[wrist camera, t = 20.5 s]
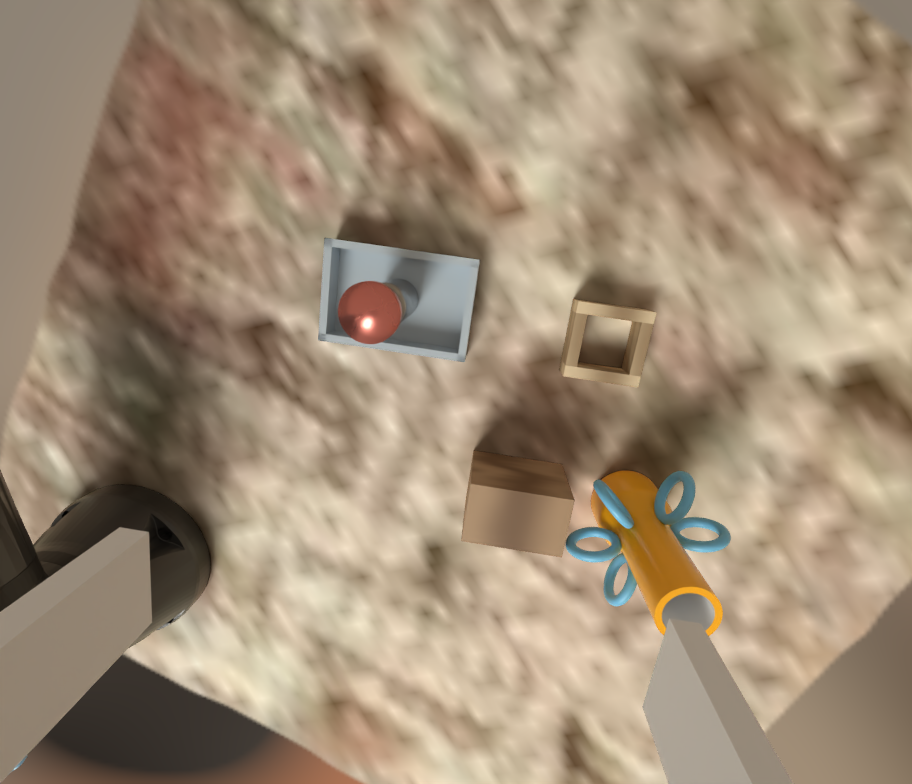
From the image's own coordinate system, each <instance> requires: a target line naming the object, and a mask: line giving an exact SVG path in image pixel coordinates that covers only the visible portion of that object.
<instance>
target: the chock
mask: <svg viewBox="0 0 912 784" xmlns="http://www.w3.org/2000/svg"><path fill="white" fill-rule="evenodd" d="M574 501H575V500H574V497H573V495H572V492H571V489H570V486H569V483H568V480H567V477H566V475H565V472H564V469H563V466H562V464H558V463H551V462H545V461H539V460H532V459H526V458H520V457H513V456H507V455H500V454H494V453H488V452H481V451H475V450H474V452H473V458H472V464H471V471H470V477H469V483H468V489H467V496H466V503H465V512H464V521H463V530H462V539H461V541H465V542H471V543H477V544H483V545H489V546H495V547H502V548H508V549H514V550H520V551H526V552H532V553H538V554H544V555H550V556H556V557H562V554H563V549H564V545H565V541H566V536H567V532H568V527H569V523H570V518H571V514H572V510H573V505H574Z"/></svg>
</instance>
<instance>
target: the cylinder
mask: <svg viewBox="0 0 912 784" xmlns="http://www.w3.org/2000/svg"><path fill="white" fill-rule="evenodd" d="M680 481H682V482H683V485H684V491H683V496H682V499H681V501H680V503H679V505H678V506H677V508H676V509H675V510H674V511H673V512H672V510H671V508H670V506H669V504H668V502H667V501H666V498H667V496H668V494H669V492H670V490H671V489H672V487H673V486H674V485H675V484H676V483H678V482H680ZM593 486H594V490H593V493H592V496H591V508H592V512H593V514H594V517H595V519H596V522H597V524H598V527H587V528H582V529H578V530H576V531H574V532H572V533H571V534H570V535H569V536H568V538H567V540H566V548H567V550H568V552H569V553H570V554H571V555H572V556H574V557H575V558H577V559H579V560H582V561H586V562H603V561H607V560H610V559H612V558H614V557H615V558H614V559H613V561H612V562H611V564H610V565H609V567H608V569H607V572H606V575H605V579H604V595H605V598H606V600H607V601H608V603H609V604H611V605H613V606H621V605H623V604H625V603H626V602H627V601H628V600H629V599H630V597H631V596H632V594H633V592H634V590H635V588H636V585H637V584H638V587H639V589H640V591H641V593H642V595H643V598H644V600H645V602H646V604H647V606H648V608H649V611H650V613H651V615H652V617H653V619H654V622H655V624H656V626H657V628H658V630H659V631H660V632H661V633H662V634H663V635H664V634H665V631H666V628H667V624H668V621H669V618H671V619H677V620H683V621H689V622H695V623H701V624H702V626H703V628H704V630H705V631H706V633H707V635H708V636H710V635H711V634H712V633H713V632H714V631H715V630H716V629H717V628H718V626H719V625H720V623H721V620H722V615H723V611H722V606H721V604H720V602H719V600H718V599H717V597H716V596H715V594H714V593H713V591H712V590H711V588H710V587H709V585H708V584H707V582H706V581H705V579H704V578H703V576H702V575H701V573H700V572H699V570H698V569H697V567H696V566H695V564H694V563H693V561H692V560H691V558H690V557H689V556H688V554H687V553H686V551H685V550H684V548H685V549H687V550H691V551H696V552H715V551H719V550H721V549H723V548H725V547H726V546H727V545H728V544H729V543H730V540H731V536H730V533H729V531H728V530H727V528H726V527H724V526H723V525H722V524H720V523H718V522H716V521H713V520H710V519H706V518H699V517H689V518H684V517H685V515H686V514H687V513H688V511H689V510H690V508H691V506H692V503H693V501H694V497H695V482H694V480H693V478H692V476H691V475H690V474H689V473H687V472H684V471H677V472H674V473H672V474H671V475H669V476H668V477H667V478H666V479H665V480H664V481H663V483H662V484H661V486H660V488H659V490H658V489H657V487H656V486H655V485H654V484H653V482H652V481H651V480H650V479H649V478H648V477H646V476H645V475H643V474H641V473H638V472H635V471H629V470H626V471H617V472H614V473H611V474H609V475H607V476H606V477H604V478H603V479H602V480H596V481H595V482H594V484H593ZM690 527H700V528H706V529H709V530H712V531H714V532H716V533H717V534H718V535H719V537H718V538H717V539H715V540H712V541H694V540H690V539H687V538H685V537H683V536H682V535H681V534H680V531H681V530H683V529H685V528H690ZM586 537H600V538H604V539H605V540H606V542H607V543H608V544H609V545H610V547H609V548H607V549H605V550H602V551H595V552H593V551H585V550H582V549H580V548H578V547H577V546H576V542H577V541H579V540H580V539H583V538H586ZM620 552H622V553H621V554H619V553H620ZM618 554H619V555H618ZM624 563H627V565H628V576H627V580H626V583H625V585H624V587H623V589H622V591H621V592H620V593H619V594H618V595H616V596H615V594H614V590H613V586H614V580H615V577H616V574H617V572H618V570H619V568H620V567H621V566H622V565H623V564H624Z"/></svg>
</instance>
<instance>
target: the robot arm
mask: <svg viewBox="0 0 912 784" xmlns="http://www.w3.org/2000/svg"><path fill="white" fill-rule="evenodd" d="M209 574H210V556H209V551H208V547H207V544H206V542H205V539H204V537H203V535H202V533H201V531H200V529H199V528H198V526H197V525H196V523H195V522H194V521H193V520H192V518H191V517H190V516H189V515H188V514H187V513H186V512H185V511H184V510H183V509H182V508H181V507H179V506H178V505H177V504H176V503H174V502H173V501H171V500H170V499H168V498H167V497H165V496H163V495H161V494H159V493H157V492H155V491H152V490H149V489H146V488H143V487H138V486H133V485H112V486H106V487H102V488H100V489H97V490H95V491H93V492H91V493H89V494H87V495H85V496H84V497H82V498H80V499H79V500H77V501H75V502H73V503H72V504H70V505H69V506H68V507H67V508H65V509H64V510H63V511H62V512H61V513H60V514H59V515H58V517H57V518H56V519H55V520H54V522H53V523H52V525H51V527H50V528H49V529H48V530H47V531H45V532H44V533H43V534H42V536H41V537H40V538H39V539H38V540H37V541H36V542H35V543H34V545H33V544H32V541H31V539H30V537H29V535H28V532H27V530H26V528H25V526H24V524H23V521H22V519H21V517H20V515H19V513H18V510H17V508H16V506H15V504H14V501H13V499H12V496H11V494H10V492H9V489H8V487H7V485H6V482H5V480H4V477H3V475H2V473H1V470H0V783H1V782H2V781H3V780H4V779H5V777H6V776H7V775H8V774H9V773H10V772H12V771H13V770H15V769H17V768H18V767H19V766H20V765H21V764H22V763H23V762H24V760H25V759H26V757H27V755H28V754H29V753H30V751H31V750H32V749H33V748H34V747H35V746H36V745H37V744H38V743H39V742H40V741H41V740H42V739H43V738H44V736H45V735H46V734H47V733H48V732H49V731H50V730H51V729H52V728H53V727H54V726H55V725H56V724H57V722H59V720H60V719H61V718H62V717H63V716H64V715H65V714H66V713H67V712H68V711H69V710H70V709H71V708H72V707H73V706H74V704H75V703H76V702H77V701H78V700H79V699H80V698H81V697H82V696H83V695H84V694H85V693H86V692H87V691H88V690H89V688H91V687H92V685H93V684H94V683H95V682H96V681H97V680H98V679H99V678H100V677H101V676H102V675H103V674H104V673H105V672H106V671H107V670H108V669H109V668H110V666H111V665H112V664H113V663H114V662H115V661H116V660H117V659H118V658H119V657H120V656H121V655H122V654H123V653H124V652H125V651H126V650H127V649H128V648H129V647H131V646H133V645H135V644H136V643H138V642H140V641H141V640H143V639H144V638H146V637H147V636H149V635H150V634H151V633H152V632H154V631H155V630H159V629H161V628H164V627H166V626H168V625H169V624H171V623H173V622H175V621H176V620H177V619H179V618H180V617H181V616H182V615H183V614H185V613H186V611H187V610H188V609H189V608H190V607H191V606H192V605H193V604H194V602H195V601H196V600H197V599H198V598H199V597H200V595H201V594H202V592H203V591H204V589H205V587H206V585H207V582H208V579H209ZM643 710H644V713H645V716H646V719H647V722H648V725H649V727H650V730H651V733H652V736H653V739H654V742H655V745H656V748H657V751H658V754H659V757H660V760H661V763H662V766H663V769H664V772H665V775H666V777H667V780H668V783H669V784H794V783H793V781H792V779H791V778H790V776H789V774H788V772H787V771H786V769H785V767H784V766H783V764H782V762H781V760H780V759H779V757H778V755H777V753H776V752H775V750H774V748H773V747H772V745H771V743H770V741H769V740H768V738H767V736H766V734H765V733H764V731H763V729H762V728H761V726H760V724H759V722H758V721H757V719H756V717H755V716H754V714H753V712H752V710H751V709H750V707H749V705H748V704H747V702H746V700H745V698H744V697H743V695H742V693H741V691H740V690H739V688H738V686H737V685H736V683H735V681H734V679H733V678H732V676H731V674H730V673H729V671H728V669H727V667H726V666H725V664H724V662H723V661H722V659H721V657H720V655H719V654H718V652H717V650H716V648H715V647H714V645H713V643H712V642H711V640H710V638H709V636H708V635H707V633H706V631H705V630H704V628H703V626H702V624H701V623H695V622H689V621H683V620H677V619H671V618H669V621H668V624H667V628H666V631H665V634H664V638H663V641H662V644H661V647H660V651H659V654H658V657H657V661H656V664H655V667H654V670H653V674H652V677H651V680H650V684H649V687H648V690H647V693H646V697H645V700H644V703H643Z"/></svg>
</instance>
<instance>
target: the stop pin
mask: <svg viewBox="0 0 912 784" xmlns="http://www.w3.org/2000/svg"><path fill="white" fill-rule="evenodd" d="M418 302H419V297H418V293H417V290H416V288H415V287H414V286H413V285H412V284H411V283H410V282H408V281H406V280H404V279H394V280H390V281H386V282H378V281H364V282H359V283H356V284H354V285H352V286H351V287H349V288H348V289H347V290H346V291H345V292H344V293H343V295H342V297H341V299H340V301H339V305H338V317H339V321H340V324H341V326H342V328H343V329H344V331H345V332H346V333H347V334H348V335H349V336H350V337H351V338H352V339H354V340H356V341H358V342H360V343H364V344H377V343H380V342H383V341H385V340H386V339H388V338H389V337H390V336H392V335H393V334H394V333H395V332H396V330H397V329H398V327H399V325H400V323H401V322H402V321H403V320H405V319H406V318H407V317H409V316H410V315H411V314H412V313H413V312H414V311H415V310H416V308H417V306H418Z"/></svg>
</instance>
